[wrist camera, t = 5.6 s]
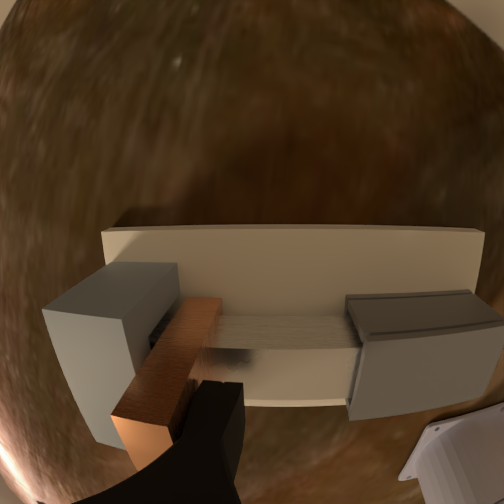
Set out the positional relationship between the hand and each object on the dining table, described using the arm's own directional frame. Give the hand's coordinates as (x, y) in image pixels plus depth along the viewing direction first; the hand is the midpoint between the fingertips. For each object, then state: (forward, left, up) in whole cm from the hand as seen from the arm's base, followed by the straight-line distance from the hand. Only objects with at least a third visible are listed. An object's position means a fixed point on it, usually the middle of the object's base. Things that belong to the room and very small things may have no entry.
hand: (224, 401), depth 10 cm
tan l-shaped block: (0, 0, -5) cm, 5 cm away
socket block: (+5, 0, -5) cm, 7 cm away
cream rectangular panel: (-3, 0, -6) cm, 7 cm away
